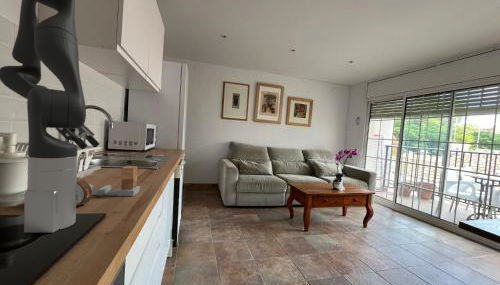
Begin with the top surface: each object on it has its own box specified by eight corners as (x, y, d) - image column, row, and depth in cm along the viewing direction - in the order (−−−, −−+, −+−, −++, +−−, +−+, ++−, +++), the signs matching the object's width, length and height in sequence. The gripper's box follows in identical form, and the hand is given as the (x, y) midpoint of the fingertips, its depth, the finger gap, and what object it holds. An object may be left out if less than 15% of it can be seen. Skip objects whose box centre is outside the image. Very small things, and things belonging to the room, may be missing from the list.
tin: (92, 205, 74) (93, 178, 73) (84, 208, 71) (85, 180, 70) (49, 200, 75) (49, 174, 75) (39, 203, 72) (39, 176, 72)
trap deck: (133, 196, 85) (133, 189, 85) (65, 194, 82) (65, 188, 82) (139, 191, 92) (139, 185, 92) (76, 189, 89) (76, 183, 89)
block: (132, 189, 87) (133, 168, 86) (121, 189, 86) (122, 167, 86) (136, 186, 91) (137, 166, 90) (125, 186, 90) (126, 166, 90)
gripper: (52, 103, 76) (89, 141, 79) (77, 107, 90) (108, 139, 93) (33, 119, 76) (71, 156, 78) (61, 120, 90) (93, 151, 92)
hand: (91, 146), depth 85 cm, fingers open, 8 cm apart
